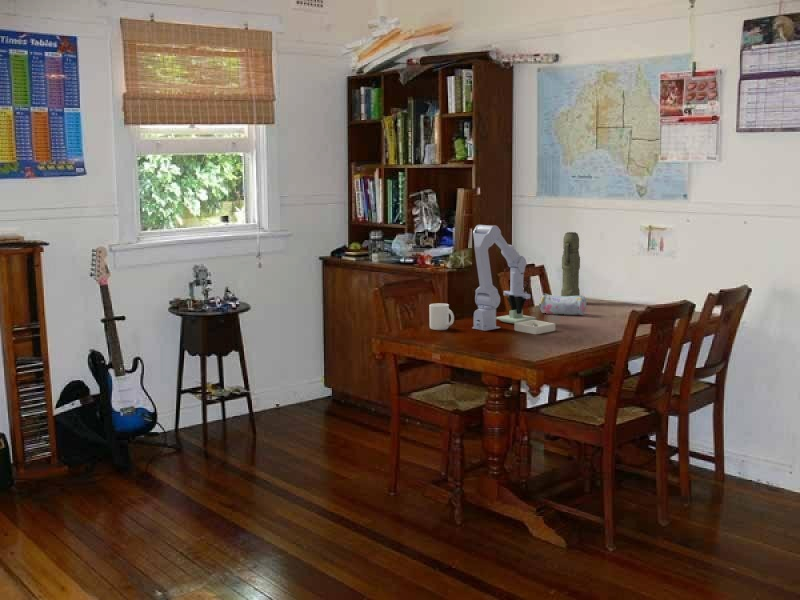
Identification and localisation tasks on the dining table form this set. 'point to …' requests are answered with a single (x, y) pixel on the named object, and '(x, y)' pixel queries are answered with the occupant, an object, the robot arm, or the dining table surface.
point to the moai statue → (570, 265)
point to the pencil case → (563, 304)
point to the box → (534, 327)
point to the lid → (515, 317)
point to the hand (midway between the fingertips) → (516, 313)
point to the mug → (440, 316)
